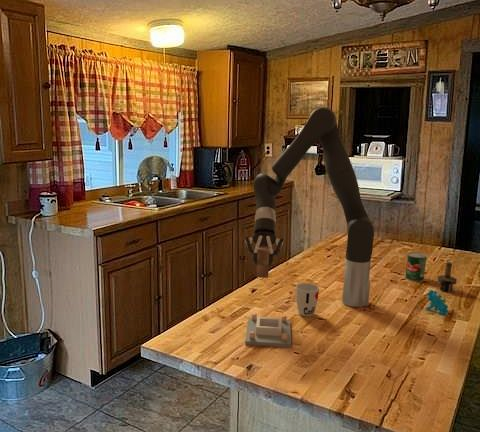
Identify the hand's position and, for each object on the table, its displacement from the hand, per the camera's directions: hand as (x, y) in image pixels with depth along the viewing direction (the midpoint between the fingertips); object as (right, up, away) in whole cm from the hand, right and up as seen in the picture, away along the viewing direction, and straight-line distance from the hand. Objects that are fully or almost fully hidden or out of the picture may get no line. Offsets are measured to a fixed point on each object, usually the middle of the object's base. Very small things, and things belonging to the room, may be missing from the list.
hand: (262, 264), depth 170 cm
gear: (+65, -19, +13) cm, 68 cm away
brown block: (0, -4, +3) cm, 5 cm away
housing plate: (+1, -21, -9) cm, 23 cm away
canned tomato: (+69, -11, +49) cm, 85 cm away
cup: (+16, -18, +8) cm, 25 cm away
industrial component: (+78, -14, +36) cm, 87 cm away
